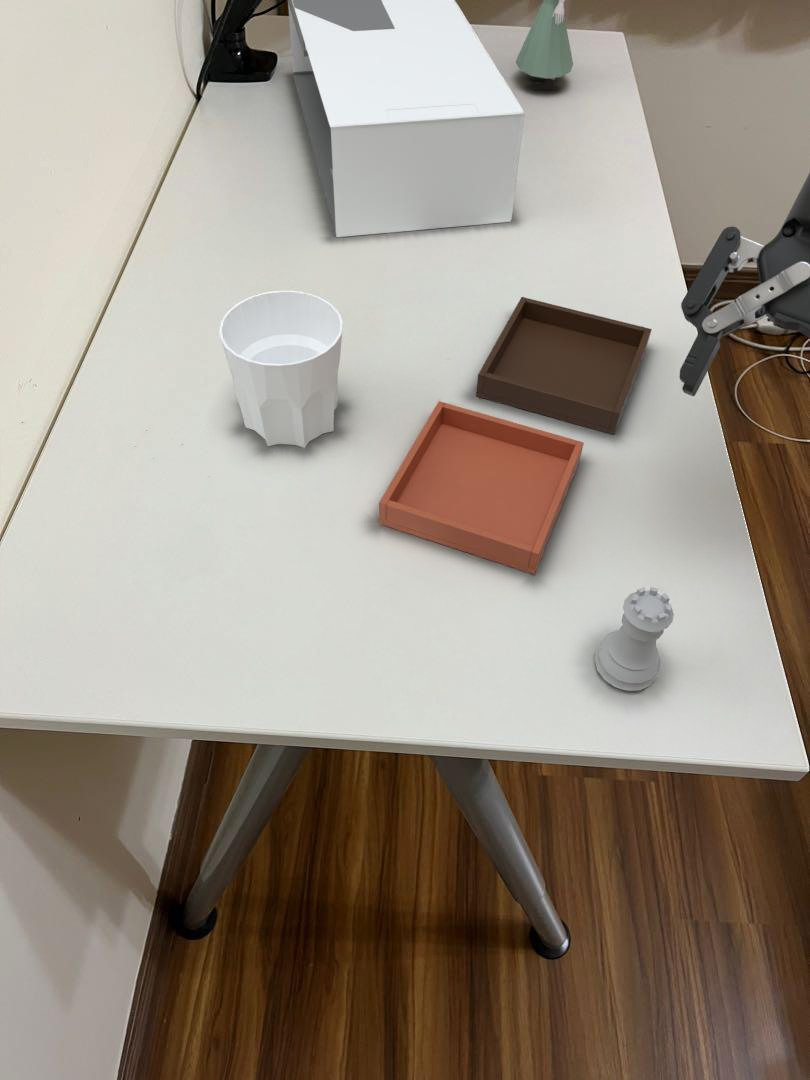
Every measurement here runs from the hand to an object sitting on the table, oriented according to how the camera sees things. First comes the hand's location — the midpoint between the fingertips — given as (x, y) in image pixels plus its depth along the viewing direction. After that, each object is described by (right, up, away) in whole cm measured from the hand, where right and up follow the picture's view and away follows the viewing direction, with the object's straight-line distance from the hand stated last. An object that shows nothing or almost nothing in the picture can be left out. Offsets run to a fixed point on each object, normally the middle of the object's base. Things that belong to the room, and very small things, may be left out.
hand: (750, 419), depth 54 cm
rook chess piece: (-6, -17, +6) cm, 19 cm away
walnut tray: (-7, +8, +27) cm, 29 cm away
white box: (-24, +45, +57) cm, 76 cm away
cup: (-33, +3, +23) cm, 40 cm away
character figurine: (-2, +59, +69) cm, 91 cm away
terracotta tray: (-16, -4, +17) cm, 23 cm away
